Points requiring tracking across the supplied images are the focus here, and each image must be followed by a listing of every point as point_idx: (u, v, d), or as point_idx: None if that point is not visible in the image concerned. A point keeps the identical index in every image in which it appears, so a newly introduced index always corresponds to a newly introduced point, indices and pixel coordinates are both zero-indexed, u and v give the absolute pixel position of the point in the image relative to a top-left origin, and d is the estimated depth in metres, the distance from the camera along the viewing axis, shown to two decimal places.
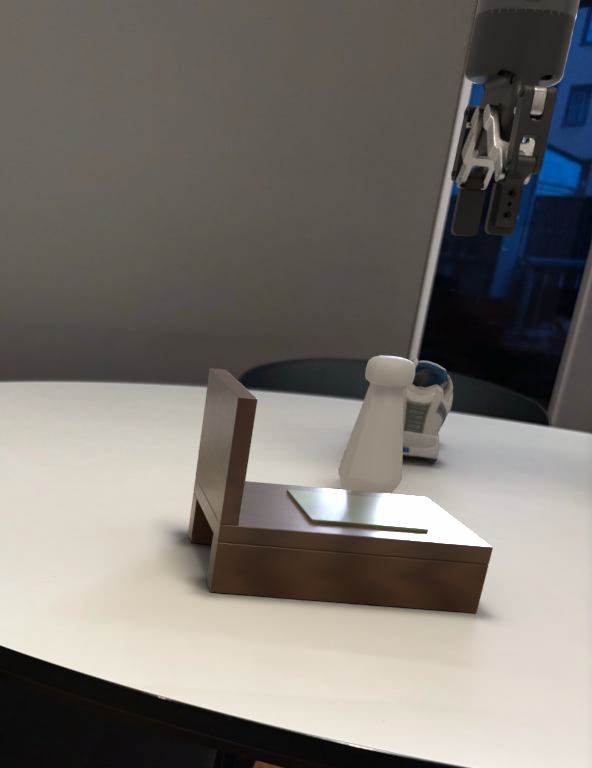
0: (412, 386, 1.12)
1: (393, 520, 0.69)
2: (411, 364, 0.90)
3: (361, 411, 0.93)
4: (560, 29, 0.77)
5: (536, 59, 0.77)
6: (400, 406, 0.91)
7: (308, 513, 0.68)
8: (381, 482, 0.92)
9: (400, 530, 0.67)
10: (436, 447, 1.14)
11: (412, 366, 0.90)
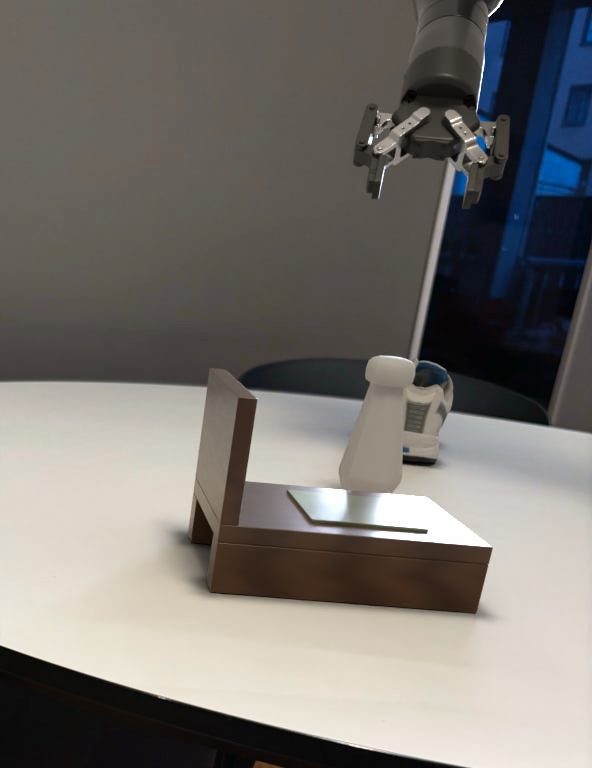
0: (412, 386, 1.12)
1: (393, 520, 0.69)
2: (411, 364, 0.90)
3: (361, 411, 0.93)
4: (410, 70, 1.00)
5: (400, 98, 1.01)
6: (400, 406, 0.91)
7: (308, 513, 0.68)
8: (381, 482, 0.92)
9: (400, 530, 0.67)
10: (436, 447, 1.14)
11: (412, 366, 0.90)
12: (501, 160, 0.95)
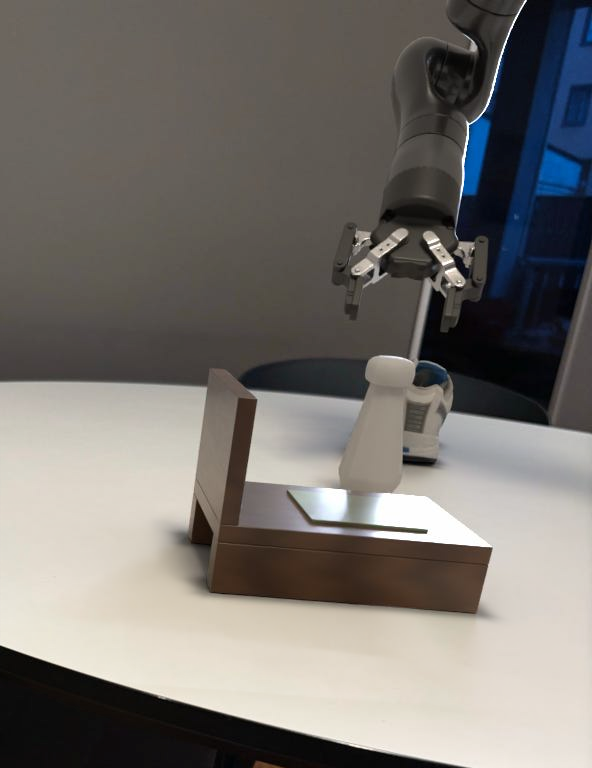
0: (412, 386, 1.12)
1: (393, 520, 0.69)
2: (411, 364, 0.90)
3: (361, 411, 0.93)
4: (389, 188, 1.00)
5: (379, 216, 1.01)
6: (400, 406, 0.91)
7: (308, 513, 0.68)
8: (381, 482, 0.92)
9: (400, 530, 0.67)
10: (436, 447, 1.14)
11: (412, 366, 0.90)
12: (479, 284, 0.95)
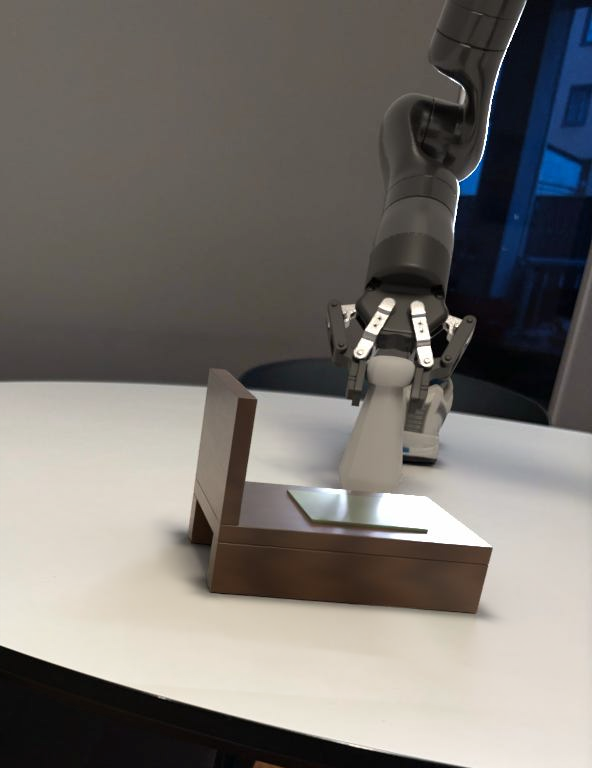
0: None
1: (393, 520, 0.69)
2: (411, 363, 0.90)
3: (361, 411, 0.93)
4: (375, 253, 0.95)
5: (365, 282, 0.96)
6: (400, 406, 0.91)
7: (308, 513, 0.68)
8: (381, 482, 0.92)
9: (400, 530, 0.67)
10: (436, 447, 1.14)
11: (412, 366, 0.90)
12: (448, 364, 0.90)
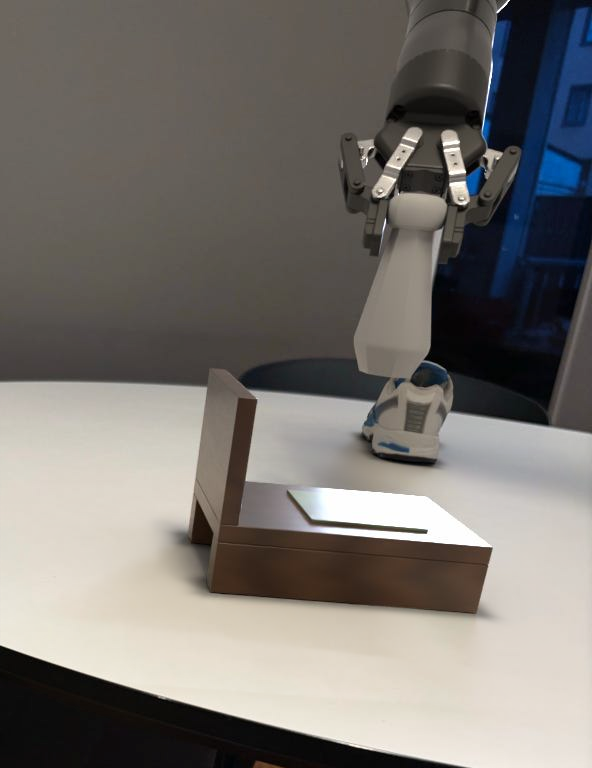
0: (412, 386, 1.12)
1: (393, 520, 0.69)
2: (442, 200, 0.74)
3: (381, 264, 0.77)
4: (398, 79, 0.79)
5: (385, 116, 0.80)
6: (429, 255, 0.75)
7: (308, 513, 0.68)
8: (405, 349, 0.76)
9: (400, 530, 0.67)
10: (436, 447, 1.14)
11: (444, 203, 0.74)
12: (487, 201, 0.74)
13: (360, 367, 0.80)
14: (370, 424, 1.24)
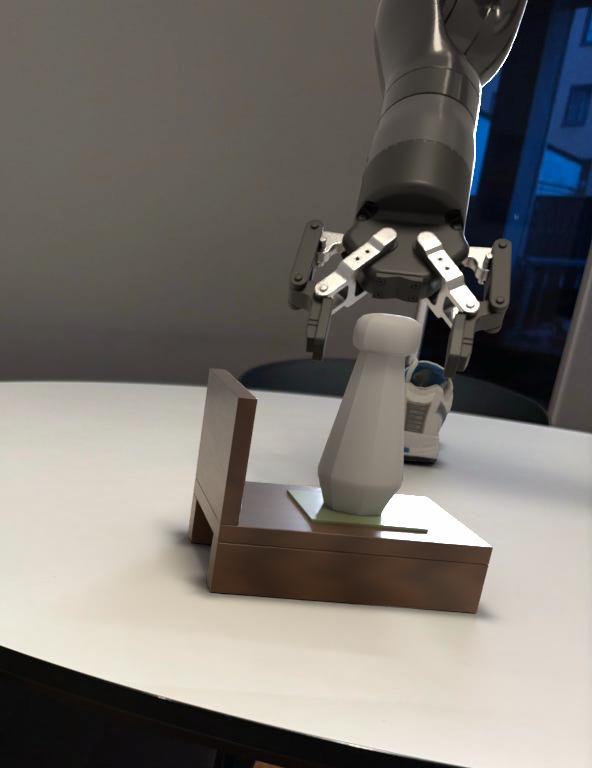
0: (412, 386, 1.12)
1: (393, 520, 0.69)
2: (415, 323, 0.65)
3: (347, 389, 0.68)
4: (369, 171, 0.71)
5: None
6: (401, 382, 0.67)
7: (308, 513, 0.68)
8: (374, 487, 0.68)
9: (400, 530, 0.67)
10: (436, 447, 1.14)
11: (417, 326, 0.65)
12: (499, 309, 0.65)
13: (325, 500, 0.71)
14: None
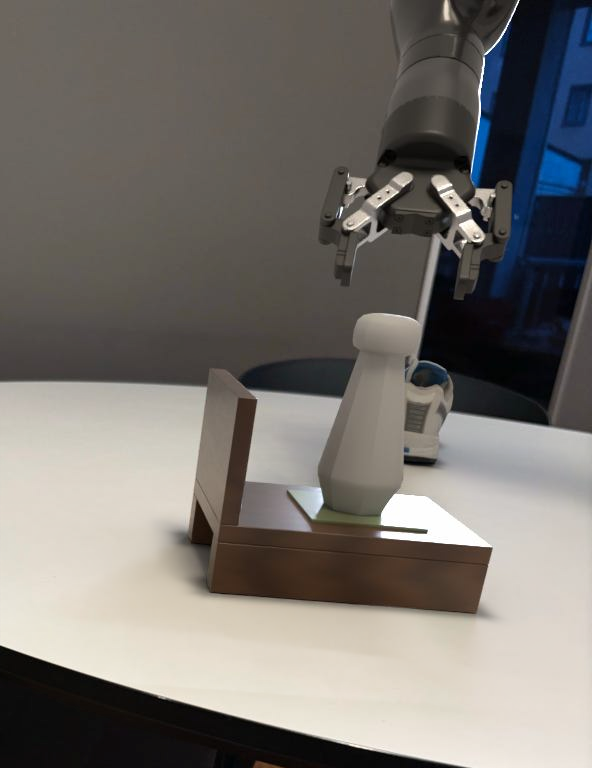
0: (412, 386, 1.12)
1: (393, 520, 0.69)
2: (415, 323, 0.65)
3: (348, 389, 0.68)
4: (388, 124, 0.81)
5: None
6: (401, 382, 0.67)
7: (308, 513, 0.68)
8: (374, 487, 0.68)
9: (400, 530, 0.67)
10: (436, 447, 1.14)
11: (417, 326, 0.65)
12: (502, 239, 0.76)
13: (325, 500, 0.71)
14: None
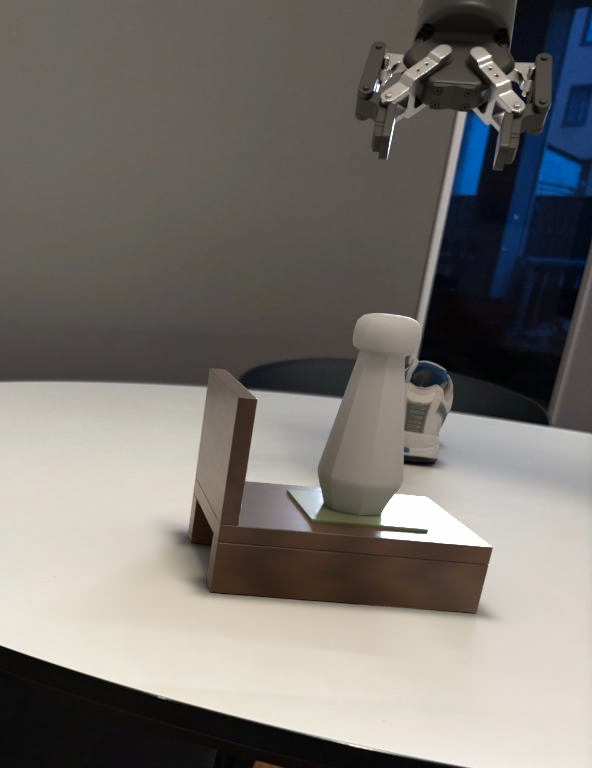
0: (412, 386, 1.12)
1: (393, 520, 0.69)
2: (415, 323, 0.65)
3: (348, 389, 0.68)
4: (426, 0, 0.81)
5: None
6: (401, 382, 0.67)
7: (308, 513, 0.68)
8: (374, 487, 0.68)
9: (400, 530, 0.67)
10: (436, 447, 1.14)
11: (417, 326, 0.65)
12: (542, 108, 0.76)
13: (325, 500, 0.71)
14: None
